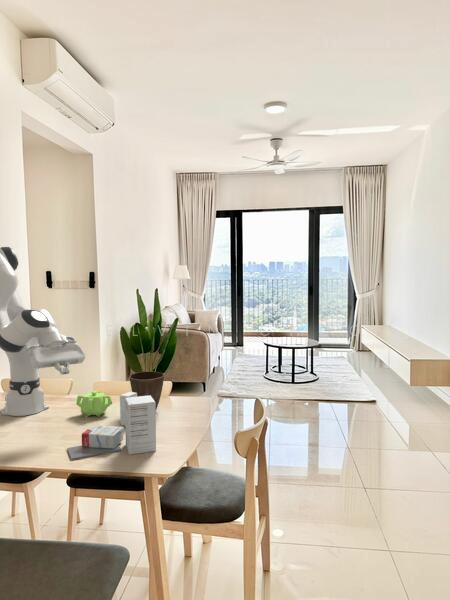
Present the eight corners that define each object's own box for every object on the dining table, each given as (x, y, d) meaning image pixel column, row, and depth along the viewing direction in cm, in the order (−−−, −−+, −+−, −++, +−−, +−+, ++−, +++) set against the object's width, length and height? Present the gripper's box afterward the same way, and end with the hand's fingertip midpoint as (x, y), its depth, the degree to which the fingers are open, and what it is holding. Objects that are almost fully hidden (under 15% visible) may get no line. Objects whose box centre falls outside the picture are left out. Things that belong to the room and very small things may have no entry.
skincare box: (129, 420, 172) (129, 391, 172) (137, 421, 170) (137, 392, 170) (119, 424, 167) (119, 395, 166) (128, 426, 165) (128, 396, 164)
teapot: (113, 414, 179) (113, 391, 179) (88, 420, 171) (88, 397, 171) (99, 408, 188) (99, 386, 187) (75, 414, 180) (74, 391, 179)
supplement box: (156, 451, 141) (156, 402, 140) (128, 455, 138) (128, 404, 137) (151, 440, 150) (151, 394, 149) (125, 444, 147) (124, 397, 146)
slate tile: (67, 449, 142) (67, 447, 142) (114, 441, 150) (114, 439, 150) (71, 460, 134) (71, 458, 134) (121, 450, 142) (121, 449, 142)
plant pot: (152, 418, 174) (152, 380, 173) (122, 414, 179) (122, 377, 178) (170, 408, 188) (170, 373, 187) (142, 404, 193) (141, 370, 192)
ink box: (81, 447, 143) (113, 449, 141) (81, 433, 143) (113, 435, 141) (93, 438, 151) (124, 440, 149) (93, 424, 151) (124, 426, 149)
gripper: (28, 341, 153) (41, 371, 147) (79, 337, 168) (93, 364, 162) (22, 352, 156) (35, 382, 149) (73, 347, 171) (86, 374, 165)
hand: (65, 373), depth 156 cm, fingers closed
